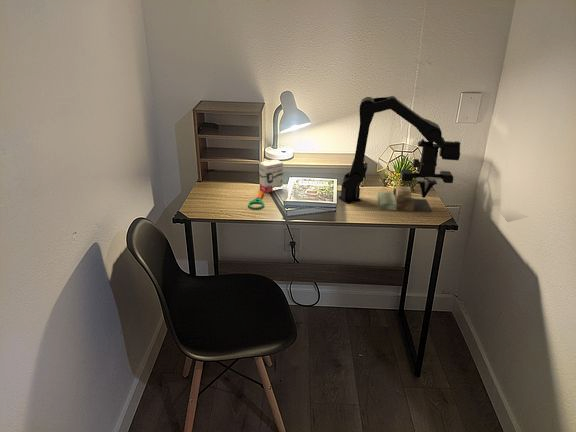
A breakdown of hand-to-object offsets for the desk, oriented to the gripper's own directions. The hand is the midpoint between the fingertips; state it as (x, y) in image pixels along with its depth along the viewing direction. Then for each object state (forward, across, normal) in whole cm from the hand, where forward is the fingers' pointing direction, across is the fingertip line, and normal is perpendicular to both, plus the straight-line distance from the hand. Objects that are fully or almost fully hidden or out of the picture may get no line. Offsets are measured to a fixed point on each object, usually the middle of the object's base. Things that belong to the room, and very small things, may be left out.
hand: (423, 197), depth 188 cm
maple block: (+1, +8, 0) cm, 8 cm away
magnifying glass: (+4, +63, +3) cm, 64 cm away
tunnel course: (+3, +8, 0) cm, 8 cm away
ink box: (+4, +60, -10) cm, 61 cm away
